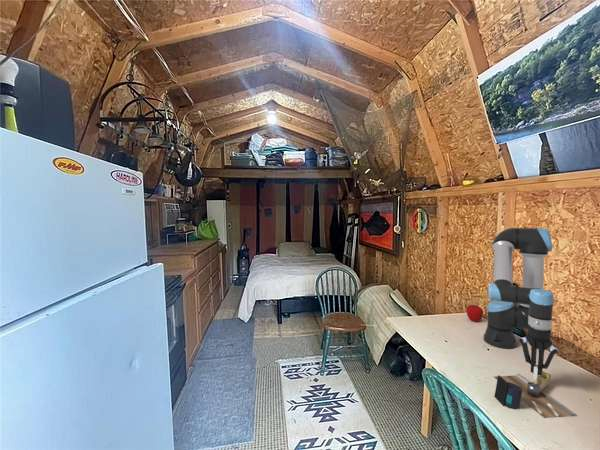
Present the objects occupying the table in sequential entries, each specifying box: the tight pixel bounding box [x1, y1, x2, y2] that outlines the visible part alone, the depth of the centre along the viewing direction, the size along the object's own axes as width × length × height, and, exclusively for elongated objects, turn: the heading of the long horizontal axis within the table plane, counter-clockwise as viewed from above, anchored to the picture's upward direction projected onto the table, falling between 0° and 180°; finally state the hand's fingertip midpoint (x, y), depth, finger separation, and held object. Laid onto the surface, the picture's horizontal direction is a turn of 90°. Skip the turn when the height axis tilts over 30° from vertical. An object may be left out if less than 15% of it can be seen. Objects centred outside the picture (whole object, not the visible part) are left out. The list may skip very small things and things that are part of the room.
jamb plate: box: [493, 373, 577, 419], centre depth 115 cm, size 12×25×2 cm, turn 3°
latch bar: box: [527, 370, 551, 397], centre depth 117 cm, size 15×4×4 cm, turn 122°
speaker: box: [493, 374, 523, 410], centre depth 109 cm, size 8×6×10 cm
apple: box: [465, 304, 484, 323], centre depth 190 cm, size 10×10×11 cm
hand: (535, 380), depth 120 cm, fingers closed
